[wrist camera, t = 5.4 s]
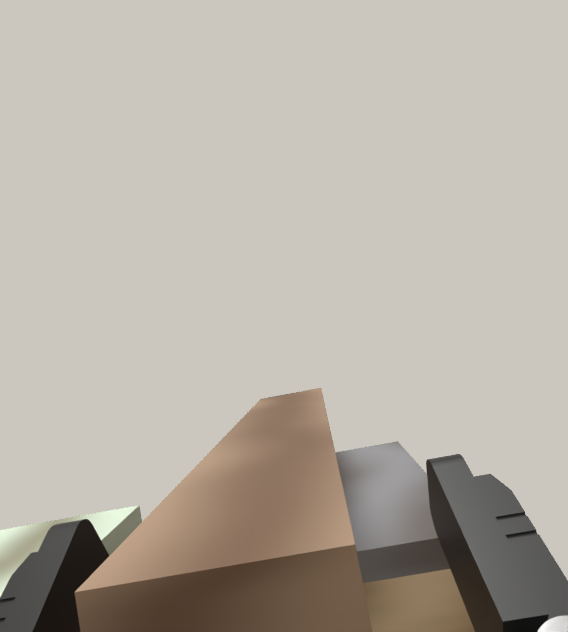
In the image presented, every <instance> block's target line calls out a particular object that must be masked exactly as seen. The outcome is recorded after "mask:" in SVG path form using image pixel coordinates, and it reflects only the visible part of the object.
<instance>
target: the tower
mask: <svg viewBox="0 0 568 632" xmlns="http://www.w3.org/2000/svg"><path fill="white" fill-rule="evenodd" d="M83 519H88V520H89V521H90V522H91V523H92V524H93V526H94V528H95V530H96V532H97V534H98V535H99V537H100V539H101V541H102V543H103V545H104V547H105V548H106V550H107V552H108V554H109V556H110V555H111V554H112V553H113V552H114V551H115V550H116V549H117V548H118V547H119V546H120V545H121V544H122V542H123V541H124V540H125V539H126V538H127V537H128V536H129V535H130V534H131V533H132V532H133V531H134V530H135V529H136V528H137V527H138V526H139V525H140V524H141V523H142V519H141V513H140V507H139V505H138V506H133V507H127V508H122V509H116V510H111V511H105V512H99V513H94V514H88V515H83V516H77V517H71V518H66V519H60V520H55V521H49V522H43V523H38V524H32V525H26V526H21V527H15V528H10V529H4V530H0V597H1V595H2V593H3V591H4V589H5V587H6V585H7V583H8V581H9V579H10V577H11V576H12V574H13V573H14V572H15V571H16V570H17V568H18V567H19V566H20V565H21V564H22V563H23V562H24V560H25V559H26V558H27V557H28V556H29V555H30V553H33V552H38V550H39V548H40V546H41V544H42V542H43V540H44V538H45V536H46V534H47V532H48V530H49V529H50V528H51V527H52V526H53V525H55V524H60V523H66V522H71V521H77V520H83Z"/></svg>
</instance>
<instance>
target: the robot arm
mask: <svg viewBox="0 0 568 632" xmlns="http://www.w3.org/2000/svg"><path fill="white" fill-rule="evenodd" d="M426 466H427V479H428V492H429V504H430V511H431V516H432V520H433V524H434V527H435V530H436V533H437V536H438V539H439V541H440V544H441V546H442V549H443V551H444V554H445V557H446V559H447V562H448V564H449V567H450V569H451V572H452V574H453V577H454V579H455V582H456V585H457V587H458V590H459V592H460V595H461V597H462V600H463V602H464V605H465V607H466V610H467V613H468V615H469V618H470V620H471V623H472V625H473V628H474V630H475V632H568V581H567V579H566V577H565V576H564V574H563V573H562V571H561V569H560V568H559V566H558V565H557V563H556V561H555V560H554V558H553V557H552V555H551V553H550V552H549V550H548V548H547V547H546V545H545V544H544V542H543V540H542V539H541V537H540V536H539V535H538V534H537V532H536V529H535V528H534V526H533V524H532V523H531V521H530V520H529V518H528V517H527V516H526V515H525V511H524V510H523V508H522V507H521V505H520V503H519V502H518V500H517V499H516V497H515V495H514V494H513V492H512V491H511V490H510V489H509V488H508V487H506V486H505V485H504V484H503V483H501V482H500V481H499V480H498V479H496V478H495V477H494V476H492V475H491V474H487V475H481V476H476V477H473V475H472V473H471V471H470V469H469V468H468V466H467V464H466V462H465V460H464V459H463V457H462V456H461V455H460V454H456V455H451V456H445V457H440V458H435V459H429V460H427V462H426ZM108 557H109V554H108V552H107V550H106V548H105V547H104V545H103V543H102V541H101V539H100V537H99V535H98V534H97V532H96V530H95V528H94V526H93V524H92V523H91V522H90V521H89V520H88V519H83V520H77V521H71V522H66V523H60V524H55V525H53V526H52V527H51V528H50V529H49V530H48V532H47V534H46V536H45V538H44V540H43V542H42V544H41V546H40V548H39V550H38V552H33V553H30V555H29V556H28V557H27V558H26V559H25V560H24V562H23V563H22V564H21V565H20V566H19V567H18V568H17V570H16V571H15V572H14V573H13V574H12V576H11V577H10V579H9V581H8V583H7V585H6V587H5V589H4V591H3V593H2V595H1V597H0V632H80V625H79V619H78V612H77V605H76V599H75V591H76V590H77V589H78V588H79V587H80V586H81V585H82V584H83V583H84V582H85V581H86V580H87V579H88V578H89V577H90V576H91V575H92V574H93V573H94V572H95V570H96V569H97V568H98V567H99V566H100V565H101V564H102V563H103V562H104V561H105V560H106V559H107V558H108Z"/></svg>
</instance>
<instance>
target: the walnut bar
mask: <svg viewBox="0 0 568 632" xmlns="http://www.w3.org/2000/svg"><path fill="white" fill-rule="evenodd" d="M75 599H76V605H77V612H78V619H79V625H80V632H372V628H371V622H370V617H369V612H368V607H367V602H366V597H365V592H364V587H363V582H362V577H361V571H360V566H359V561H358V556H357V551H356V546H355V541H354V537H353V532H352V527H351V523H350V518H349V514H348V509H347V504H346V500H345V495H344V491H343V486H342V482H341V477H340V472H339V468H338V463H337V459H336V454H335V450H334V445H333V440H332V436H331V431H330V427H329V422H328V418H327V413H326V408H325V404H324V399H323V395H322V390H321V388H317V389H312V390H307V391H302V392H296V393H291V394H285V395H280V396H275V397H269V398H265V399H261V400H260V401H259V402H258V403H257V404H256V405H255V406H254V407H253V408H252V409H251V410H250V411H249V412H248V413H247V414H246V415H245V416H244V417H243V418H242V419H241V420H240V421H239V422H238V423H237V424H236V425H235V426H234V428H232V430H231V431H230V432H229V433H228V434H227V435H226V436H225V437H224V438H223V439H222V440H221V441H220V442H219V443H218V444H217V445H216V446H215V447H214V448H213V449H212V450H211V451H210V452H209V453H208V454H207V456H206V457H205V458H204V459H203V460H202V461H201V462H200V463H199V464H198V465H197V466H196V467H195V468H194V469H193V470H192V471H191V472H190V473H189V474H188V475H187V476H186V477H185V478H184V479H183V480H182V481H181V483H180V484H178V486H177V487H176V488H175V489H174V490H173V491H172V492H171V493H170V494H169V495H168V496H167V497H166V498H165V499H164V500H163V501H162V502H161V503H160V504H159V505H158V506H157V507H156V508H155V509H154V510H153V511H152V512H151V514H150V515H149V516H148V517H147V518H146V519H145V520H144V521H143V522H142V523H141V524H140V525H139V526H138V527H137V528H136V529H135V530H134V531H133V532H132V533H131V534H130V535H129V536H128V537H127V538H126V539H125V540H124V541H123V542H122V544H121V545H120V546H119V547H118V548H117V549H116V550H115V551H114V552H113V553H112V554H111V555H110V556H109V557H108V558H107V559H106V560H105V561H104V562H103V563H102V564H101V565H100V566H99V567H98V568H97V569H96V570H95V572H94V573H93V574H92V575H91V576H90V577H89V578H88V579H87V580H86V581H85V582H84V583H83V584H82V585H81V586H80V587H79V588H78V589H77V590H76V591H75Z"/></svg>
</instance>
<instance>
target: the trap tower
mask: <svg viewBox="0 0 568 632" xmlns="http://www.w3.org/2000/svg"><path fill="white" fill-rule="evenodd" d="M335 454H336V459H337V463H338V468H339V472H340V477H341V482H342V486H343V491H344V495H345V500H346V504H347V509H348V514H349V518H350V523H351V527H352V532H353V537H354V541H355V546H356V551H357V556H358V561H359V566H360V571H361V577H362V582H363V587H364V592H365V597H366V602H367V607H368V612H369V617H370V622H371V628H372V632H475V630H474V628H473V625H472V623H471V620H470V618H469V615H468V613H467V610H466V607H465V605H464V602H463V600H462V597H461V595H460V592H459V590H458V587H457V585H456V582H455V579H454V577H453V574H452V572H451V569H450V567H449V564H448V562H447V559H446V557H445V554H444V551H443V549H442V546H441V544H440V541H439V539H438V536H437V533H436V530H435V527H434V524H433V520H432V516H431V511H430V504H429V492H428V479H427V474H426V473H425V472H424V470H423V469H422V468H421V467H420V466H419V465H418V464H417V463H416V461H415V460H414V459H413V458H412V457H411V456H410V455H409V454H408V453H407V451H406V450H405V449H404V448H403V447H402V446H401V445H400V444H399V442H392V443H387V444H381V445H375V446H370V447H364V448H359V449H353V450H348V451H342V452H337V453H335Z"/></svg>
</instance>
